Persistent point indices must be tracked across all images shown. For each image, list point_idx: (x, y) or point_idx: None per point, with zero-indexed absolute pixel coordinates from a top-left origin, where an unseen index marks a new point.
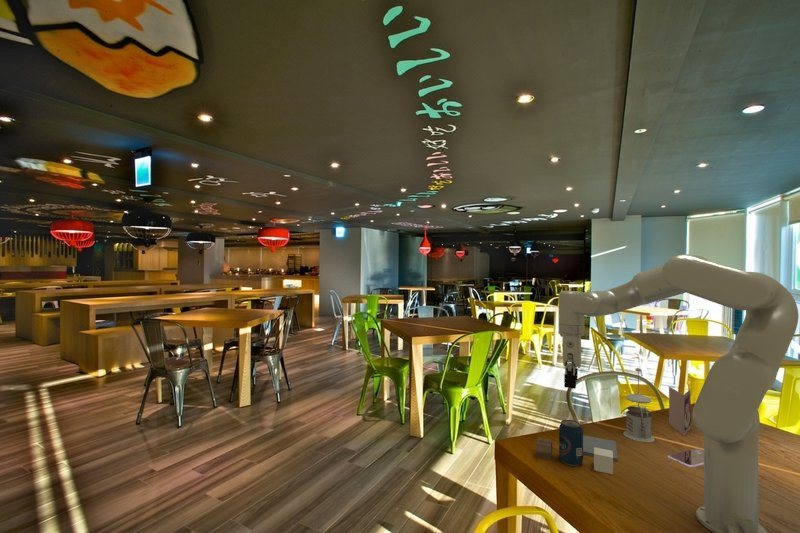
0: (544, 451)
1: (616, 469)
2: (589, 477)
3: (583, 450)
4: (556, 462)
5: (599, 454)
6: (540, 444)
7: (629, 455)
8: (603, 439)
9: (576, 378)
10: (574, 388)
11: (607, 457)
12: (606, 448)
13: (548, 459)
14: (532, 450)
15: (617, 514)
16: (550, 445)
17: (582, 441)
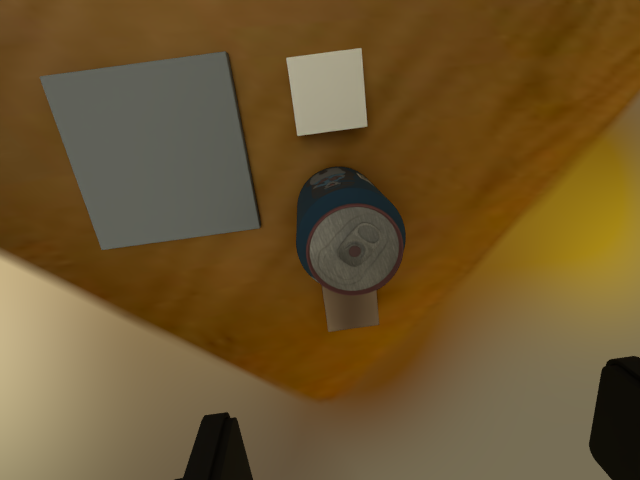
0: None
1: (300, 51)
2: (419, 130)
3: (241, 180)
4: None
5: (360, 105)
6: (377, 309)
7: (125, 10)
8: (62, 127)
9: (228, 440)
10: (628, 362)
11: (361, 72)
12: (154, 104)
13: None
14: None
15: (612, 19)
16: None
17: (355, 179)
